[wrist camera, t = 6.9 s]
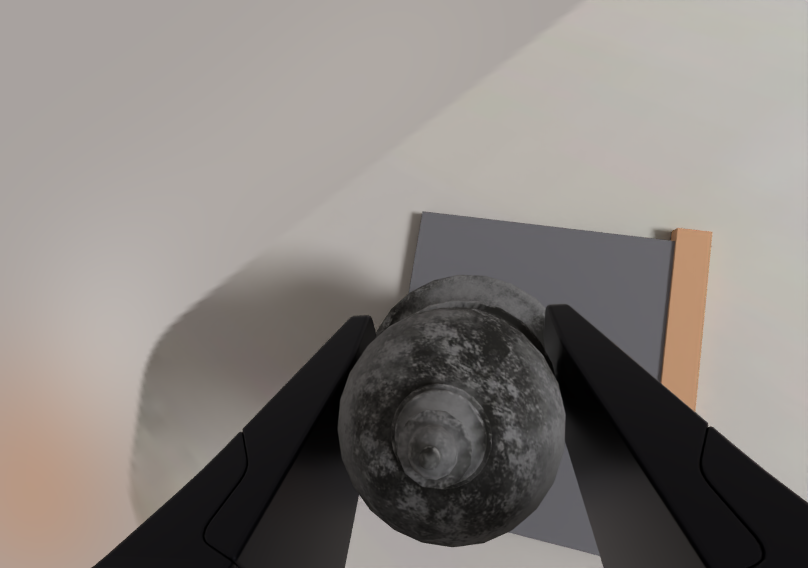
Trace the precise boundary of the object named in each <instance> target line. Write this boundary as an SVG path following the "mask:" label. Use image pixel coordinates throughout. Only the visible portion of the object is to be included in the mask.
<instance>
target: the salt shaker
mask: <svg viewBox="0 0 808 568" xmlns="http://www.w3.org/2000/svg"><path fill="white" fill-rule="evenodd" d="M545 309H546V308H545V307H544V306H543V305H542V304H541V303H540V302H539V301H538V300H537V299H536V298H534V297H533V296H531V295H529V294H528V293H526V292H525V291H523V290H521V289H520V288H518V287H516V286H515V285H513V284H511V283H508V282H504V281H501V280H498V279H494V278H491V277H488V276H478V275H455V276H451V277H446V278H442V279H437V280H433V281H431V282H429V283H427V284H425V285H423V286H421V287H419V288H418V289H416V290H414V291H412V292H410V293H409V294H408V295H407V296H406V297H404V298H403V299H402V300H401V301H400V302H399V303H398V304H397V305H396V306H394V307H393V308H392V309H391V310H390V312H389V313H388V315H387V316H386V318H385V320H384V321H383V323H382V324H381V326H380V327H379V329H378V330H377V332H376V335H377V338H376V339H375V340H374V341H372V342H371V343H370V344H369V345H368V346H367V348H366V349H365V351H364V352H363V354H362V355H361V357H360V358H359V360H358V361H357V363H356V364H355V366H354V367H353V369H352V370H351V372H350V374H349V377H348V380H347V382H346V385H345V388H344V391H343V394H342V397H341V399H340V409H339V419H338V435H339V442H340V449H341V456H342V460H343V462H344V465H345V467H346V470H347V472H348V475H349V477H350V480H351V482H352V485H353V487H354V488H355V489H356V491H357V492H358V494H359V495H360V496H361V498H362V499H363V501H364V502H365V503H366V505H367V506H368V507H369V509H370V510H371V511H372V512H373V513H374V514H376V515H377V516H378V517H379V518H380V519H382V520H383V521H384V522H385V523H387V524H388V525H389V526H390V527H391V528H393V529H394V530H396V531H398V532H400V533H402V534H404V535H407V536H409V537H411V538H413V539H415V540H418V541H420V542H422V543H428V544H435V545H441V546H448V547H458V546H466V545H473V544H481V543H485V542H487V541H489V540H492V539H494V538H496V537H498V536H501V535H503V534H505V533H507V532H510V531H512V530H513V529H514V528H515V527H517V526H518V525H519V524H520V523H521V522H522V521H524V520H525V519H526V518H527V517H528V516H529V515H531V514H532V513H533V512H534V511H535V510H536V509H537V508H538V506H539V505H540V503H541V502H542V500H543V499H544V497H545V496H546V494H547V493H548V491H549V489H550V488H551V486H552V485H553V483H554V481H555V478H556V475H557V471H558V468H559V465H560V462H561V458H562V455H563V452H564V447H565V416H566V414H565V410H564V406H563V401H562V397H561V393H560V389H559V385H558V382H557V380H556V377H555V373H554V369H553V365H552V362H551V360H550V358H549V356H548V355H547V353H546V351H545V345H544V322H545Z"/></svg>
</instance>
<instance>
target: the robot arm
mask: <svg viewBox="0 0 808 568" xmlns="http://www.w3.org/2000/svg"><path fill="white" fill-rule="evenodd" d="M376 338H377V335H376V332H375V328H374V324H373V320H372V318H371V317H370V316H369V315H360V316H352V317H351V318H350V319H349V320H348V321H347V322H346V323H345V324H344V325H343V326H342V327H341V328H340V329H339V330H338V331H337V332H336V333H335V334H334V335H333V336H332V337H331V338H330V339H329V340H328V341H327V342H326V343H325V344H324V345H323V346H322V347H321V349H320V350H319V351H318V352H317V353H316V354H315V355H314V356H313V357H312V358H311V359H310V360H309V361H308V362H307V363H306V364H305V365H304V366H303V367H302V368H301V369H300V370H299V371H298V372H297V373H296V374H295V375H294V376H293V377H292V378H291V380H290V381H289V382H288V383H287V384H286V385H285V386H284V387H283V388H282V389H281V390H280V391H279V392H278V393H277V394H276V395H275V396H274V397H273V398H272V399H271V400H270V401H269V402H268V403H267V404H266V405H265V406H264V407H263V408H262V410H261V411H260V412H259V413H258V414H257V415H256V416H255V417H254V418H253V419H252V420H251V421H250V422H249V423H248V424H247V425H246V426H245V427H244V428H243V432H239V433H238V434H237V435H236V436H235V437H234V438H233V439H232V440H231V441H230V442H229V443H228V444H227V445H226V447H225V448H224V449H223V450H222V451H220V452H219V453H218V454H217V455H216V456H215V457H214V458H213V459H212V460H211V461H210V462H209V463H208V464H207V465H206V466H205V467H204V468H203V469H202V470H201V471H200V472H199V473H198V474H197V475H196V476H195V477H194V478H193V479H191V480H190V481H189V482H188V483H187V484H186V485H185V486H184V487H183V488H182V489H181V490H180V491H178V492H177V493H176V494H175V495H174V496H173V497H172V498H171V499H170V500H168V501H167V502H166V503H165V504H164V505H163V506H162V507H161V508H159V509H158V510H157V511H156V512H155V513H154V514H153V515H152V516H150V517H149V518H148V519H147V520H146V521H145V522H144V523H143V524H141V525H140V526H139V527H138V528H137V529H136V530H135V531H134V532H132V533H131V534H130V535H129V536H128V537H127V538H126V539H125V540H123V541H122V542H121V543H120V544H119V545H118V546H117V547H116V548H115V549H113V550H112V551H111V552H110V553H109V554H108V555H106V556H105V557H104V558H103V559H102V560H101V561H99V562H98V563H97V564H96V565H95V566H93V567H92V568H345V564H346V559H347V553H348V548H349V543H350V538H351V533H352V528H353V523H354V518H355V512H356V507H357V502H358V497H359V494H358V492H357V491H356V489H355V488H354V487H353V485H352V482H351V480H350V477H349V475H348V472H347V470H346V467H345V465H344V462H343V460H342V456H341V449H340V442H339V435H338V419H339V409H340V399H341V397H342V394H343V391H344V388H345V385H346V382H347V380H348V377H349V374H350V372H351V370H352V369H353V367H354V366H355V364H356V363H357V361H358V360H359V358H360V357H361V355H362V354H363V352H364V351H365V349H366V348H367V346H368V345H369V344H370V343H371V342H372V341H374V340H375V339H376ZM544 345H545V351H546V353H547V355H548V356H549V358H550V360H551V362H552V365H553V369H554V373H555V377H556V380H557V382H558V385H559V389H560V393H561V397H562V401H563V406H564V410H565V414H566V416H565V443H566V446H567V450H568V453H569V456H570V459H571V463H572V466H573V469H574V472H575V476H576V479H577V482H578V486H579V489H580V492H581V495H582V499H583V502H584V505H585V508H586V512H587V515H588V518H589V521H590V525H591V528H592V531H593V535H594V538H595V541H596V544H597V548H598V551H599V554H600V557H601V561H602V564H603V567H604V568H808V502H806V501H805V500H804V499H802V498H801V497H800V496H798V495H797V494H796V493H794V492H793V491H792V490H790V489H789V488H788V487H786V486H785V485H784V484H782V483H781V482H780V481H778V480H777V479H776V478H774V477H773V476H772V475H771V474H769V473H768V472H767V471H765V470H764V469H763V468H762V467H761V466H759V465H758V464H757V463H756V462H754V461H753V460H752V459H751V458H749V457H748V456H747V455H746V454H745V453H743V452H742V451H741V450H740V449H738V448H737V447H736V446H735V445H734V444H732V443H731V442H730V441H729V440H728V439H726V438H725V437H724V436H723V435H722V434H721V433H719V432H718V431H717V430H716V429H715V428H714V427H711V426H710V427H708V423H707V422H706V421H705V420H704V419H703V418H702V417H700V416H699V415H698V414H697V413H696V412H694V411H693V410H692V409H691V408H690V407H689V406H687V405H686V404H685V403H684V402H683V401H682V400H680V399H679V398H678V397H677V396H676V395H674V394H673V393H672V392H671V391H670V390H669V389H667V388H666V387H665V386H664V385H663V384H662V383H660V382H659V381H658V380H657V379H656V378H655V377H653V376H652V375H651V374H650V373H649V372H647V371H646V370H645V369H644V368H643V367H642V366H640V365H639V364H638V363H637V362H636V361H635V360H633V359H632V358H631V357H630V356H629V355H627V354H626V353H625V352H624V351H623V350H622V349H620V348H619V347H618V346H617V345H616V344H615V343H613V342H612V341H611V340H610V339H609V338H608V337H606V336H605V335H604V334H603V333H602V332H600V331H599V330H598V329H597V328H596V327H595V326H593V325H592V324H591V323H590V322H589V321H588V320H586V319H585V318H584V317H583V316H582V315H581V314H579V313H578V312H577V311H576V310H575V309H573V308H572V307H571V306H570V305H568V304H550V305H547V307H546V309H545V322H544Z"/></svg>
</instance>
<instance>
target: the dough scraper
mask: <svg viewBox="0 0 808 568" xmlns="http://www.w3.org/2000/svg"><path fill="white" fill-rule="evenodd" d="M711 241H712V232H709V231H700V230H691V229H682V228H677V229H675V230H673V231H672V234H671V241H669V240H661V239H652V238H644V237H635V236H627V235H618V234H610V233H602V232H593V231H585V230H576V229H568V228H559V227H551V226H542V225H534V224H525V223H517V222H508V221H500V220H491V219H483V218H474V217H466V216H457V215H449V214H440V213H432V212H423V213H422V219H421V224H420V230H419V236H418V242H417V248H416V253H415V259H414V265H413V271H412V277H411V283H410V288H409V293H410V292H412V291H414V290H416V289H418V288H419V287H421V286H423V285H425V284H427V283H429V282H431V281H433V280H437V279H442V278H446V277H451V276H455V275H478V276H488V277H491V278H494V279H498V280H501V281H504V282H508V283H511V284H513V285H515V286H516V287H518V288H520V289H521V290H523V291H525V292H526V293H528V294H529V295H531V296H533V297H534V298H536V299H537V300H538V301H539V302H540V303H541V304H542V305H543V306H544V307H545V308H546V307H547V305H550V304H568V305H570V306H571V307H572V308H573V309H575V310H576V311H577V312H578V313H579V314H581V315H582V316H583V317H584V318H585V319H586V320H588V321H589V322H590V323H591V324H592V325H593V326H595V327H596V328H597V329H598V330H599V331H600V332H602V333H603V334H604V335H605V336H606V337H608V338H609V339H610V340H611V341H612V342H613V343H615V344H616V345H617V346H618V347H619V348H620V349H622V350H623V351H624V352H625V353H626V354H627V355H629V356H630V357H631V358H632V359H633V360H635V361H636V362H637V363H638V364H639V365H640V366H642V367H643V368H644V369H645V370H646V371H647V372H649V373H650V374H651V375H652V376H653V377H655V378H656V379H657V380H658V381H659V382H660V383H662V384H663V385H664V386H665V387H666V388H667V389H669V390H670V391H671V392H672V393H673V394H674V395H676V396H677V397H678V398H679V399H680V400H682V401H683V402H684V403H685V404H686V405H687V406H689V407H690V408H691V409H692V410H693V411H694V412H695V409H696V398H697V388H698V377H699V367H700V356H701V346H702V335H703V325H704V314H705V304H706V293H707V283H708V272H709V262H710V251H711ZM509 533H513V534H517V535H521V536H525V537H529V538H533V539H536V540H540V541H544V542H548V543H552V544H556V545H560V546H564V547H568V548H571V549H575V550H579V551H583V552H587V553H591V554H595V555H599V556H600V554H599V551H598V548H597V544H596V541H595V538H594V535H593V531H592V528H591V525H590V521H589V518H588V515H587V512H586V508H585V505H584V502H583V499H582V495H581V492H580V489H579V486H578V482H577V479H576V476H575V472H574V469H573V466H572V463H571V459H570V456H569V453H568V450H567V446H566V443H565V447H564V452H563V455H562V458H561V462H560V465H559V468H558V471H557V475H556V478H555V481H554V483H553V485H552V486H551V488H550V489H549V491H548V493H547V494H546V496H545V497H544V499H543V500H542V502H541V503H540V505H539V506H538V508H537V509H536V510H535V511H534V512H533V513H532V514H531V515H529V516H528V517H527V518H526V519H525V520H524V521H522V522H521V523H520V524H519V525H518V526H517V527H515V528H514V529H513V530H512V531H510V532H509Z"/></svg>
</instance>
